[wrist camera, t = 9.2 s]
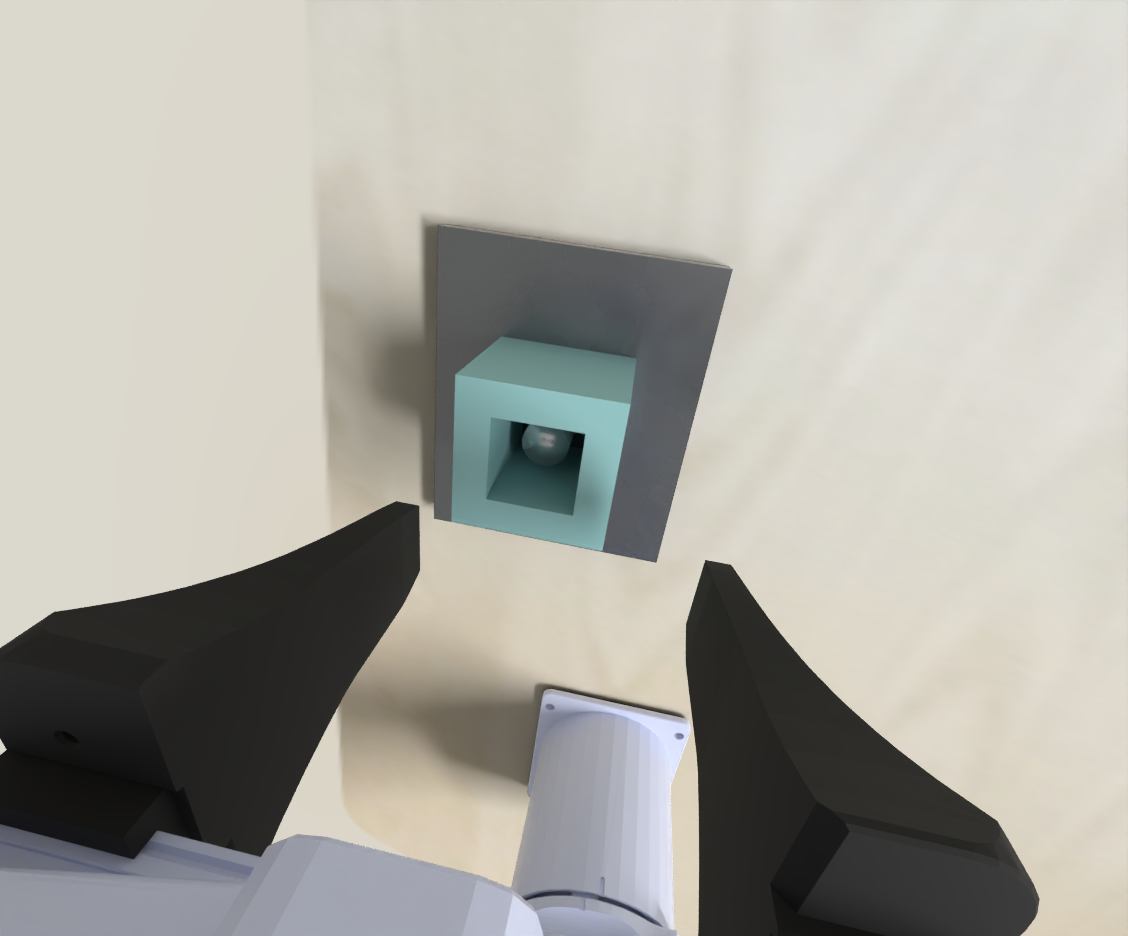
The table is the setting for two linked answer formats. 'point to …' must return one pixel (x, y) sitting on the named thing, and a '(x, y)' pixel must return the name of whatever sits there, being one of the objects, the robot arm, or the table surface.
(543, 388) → the square hole block
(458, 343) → the pin plate
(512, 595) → the table surface
